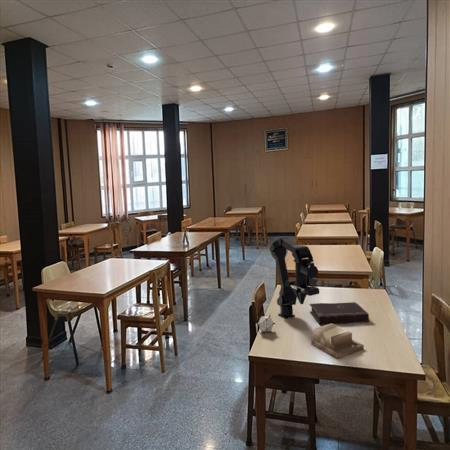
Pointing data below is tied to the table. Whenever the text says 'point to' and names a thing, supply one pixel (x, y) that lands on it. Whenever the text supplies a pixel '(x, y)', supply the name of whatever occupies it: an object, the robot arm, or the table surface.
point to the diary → (338, 313)
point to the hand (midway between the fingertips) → (301, 304)
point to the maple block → (333, 337)
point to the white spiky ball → (265, 323)
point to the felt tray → (354, 348)
